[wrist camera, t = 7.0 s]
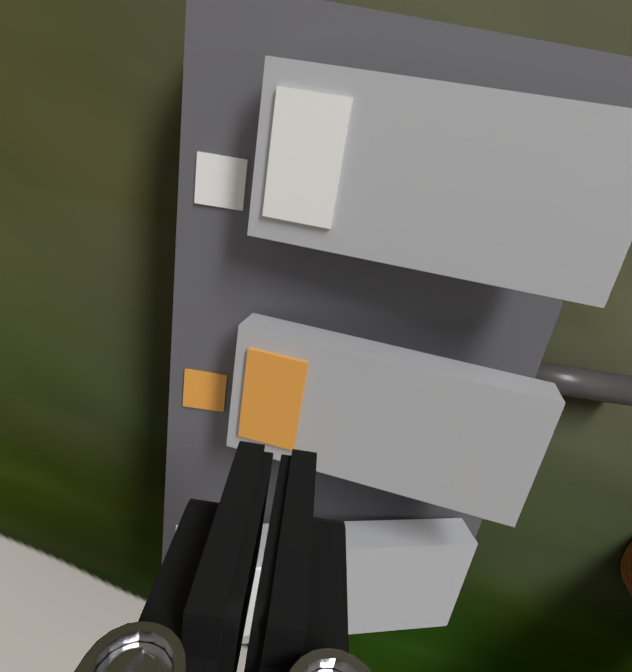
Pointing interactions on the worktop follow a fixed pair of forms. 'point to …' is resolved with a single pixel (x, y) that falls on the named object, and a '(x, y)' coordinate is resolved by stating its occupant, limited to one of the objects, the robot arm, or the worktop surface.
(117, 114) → the worktop surface
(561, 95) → the rocker switch panel
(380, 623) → the block
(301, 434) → the block
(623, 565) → the disposable coffee cup
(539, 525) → the worktop surface
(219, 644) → the robot arm
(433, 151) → the block
